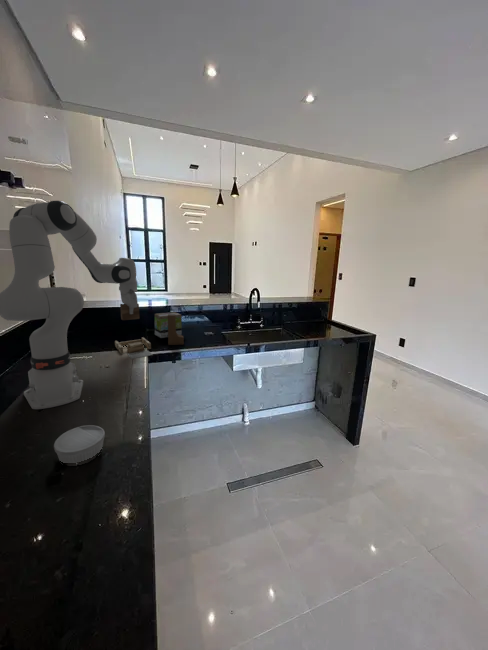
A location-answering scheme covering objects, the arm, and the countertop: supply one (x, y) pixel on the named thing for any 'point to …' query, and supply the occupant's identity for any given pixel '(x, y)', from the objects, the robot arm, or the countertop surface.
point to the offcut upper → (135, 344)
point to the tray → (124, 349)
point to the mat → (139, 354)
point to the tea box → (166, 324)
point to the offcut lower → (135, 349)
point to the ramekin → (79, 443)
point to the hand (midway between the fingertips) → (130, 313)
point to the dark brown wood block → (125, 312)
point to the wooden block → (173, 332)
